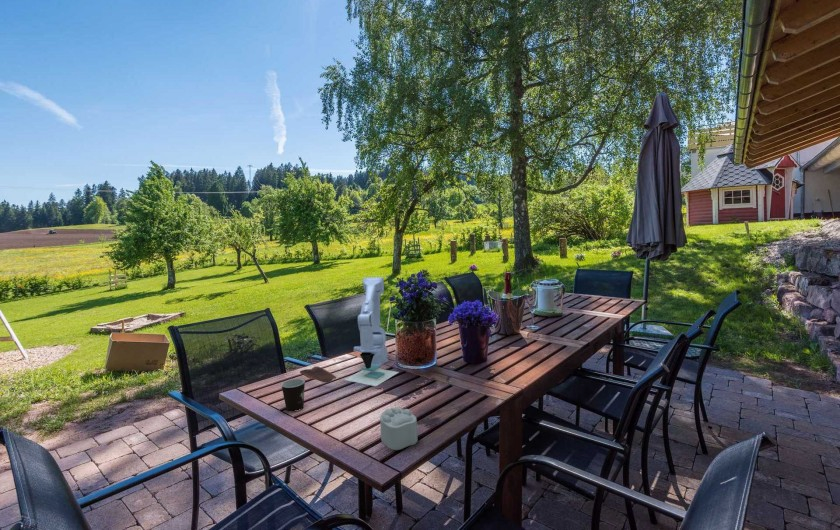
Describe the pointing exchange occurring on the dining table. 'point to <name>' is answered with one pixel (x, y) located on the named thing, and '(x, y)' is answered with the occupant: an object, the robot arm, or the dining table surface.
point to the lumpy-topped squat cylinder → (398, 428)
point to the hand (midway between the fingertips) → (368, 367)
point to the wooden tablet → (318, 374)
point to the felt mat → (360, 378)
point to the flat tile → (373, 368)
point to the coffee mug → (293, 394)
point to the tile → (374, 375)
